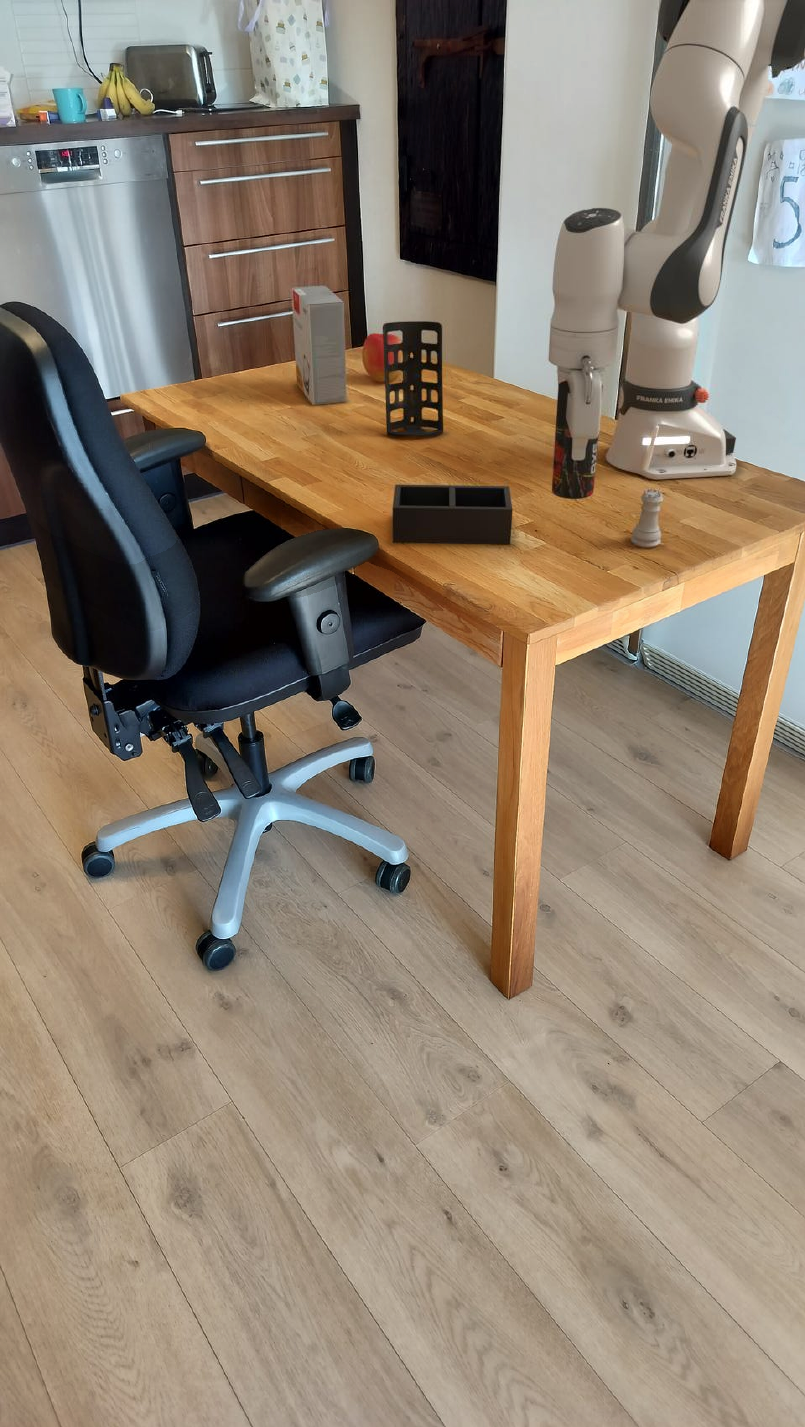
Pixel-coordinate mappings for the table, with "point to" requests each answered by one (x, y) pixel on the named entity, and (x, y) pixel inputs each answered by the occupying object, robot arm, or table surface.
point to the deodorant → (567, 473)
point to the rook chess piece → (648, 521)
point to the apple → (379, 356)
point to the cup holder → (452, 514)
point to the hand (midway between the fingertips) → (575, 449)
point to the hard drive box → (319, 344)
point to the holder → (413, 379)
